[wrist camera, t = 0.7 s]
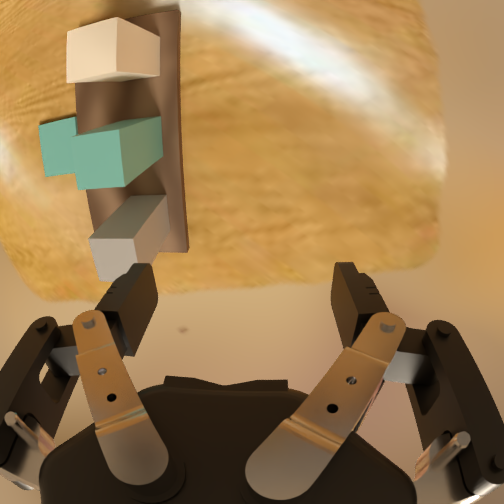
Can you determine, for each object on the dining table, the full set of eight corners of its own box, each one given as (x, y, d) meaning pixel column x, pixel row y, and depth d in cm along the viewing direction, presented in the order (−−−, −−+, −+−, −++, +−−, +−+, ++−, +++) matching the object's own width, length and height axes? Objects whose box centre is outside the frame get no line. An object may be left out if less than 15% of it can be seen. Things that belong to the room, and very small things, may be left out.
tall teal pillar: (161, 116, 32) (118, 129, 21) (163, 156, 34) (124, 186, 24) (123, 120, 32) (70, 137, 21) (126, 158, 34) (78, 190, 24)
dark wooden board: (180, 12, 26) (178, 9, 25) (189, 247, 42) (187, 252, 41) (81, 34, 26) (75, 32, 25) (102, 246, 42) (98, 251, 41)
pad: (76, 116, 32) (74, 116, 32) (82, 171, 36) (81, 172, 36) (40, 125, 32) (38, 125, 32) (47, 175, 36) (45, 176, 36)
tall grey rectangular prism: (166, 194, 37) (133, 238, 26) (170, 230, 39) (142, 283, 29) (130, 195, 37) (88, 238, 26) (135, 230, 39) (99, 281, 29)
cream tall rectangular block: (160, 37, 27) (117, 16, 16) (159, 75, 29) (116, 71, 19) (121, 44, 27) (67, 31, 16) (121, 81, 29) (66, 83, 19)
